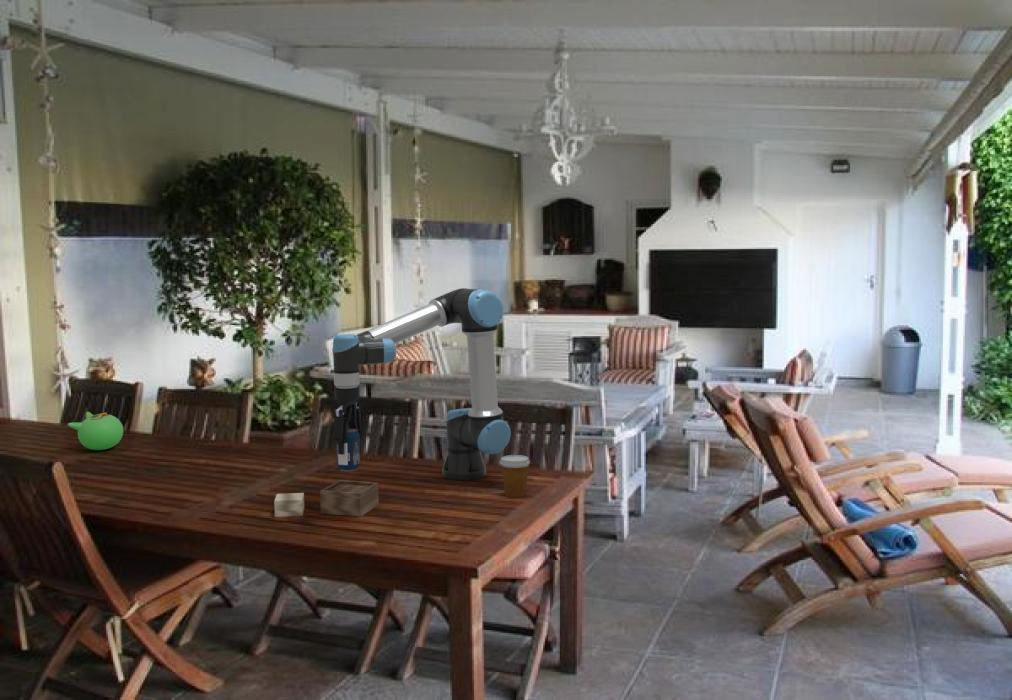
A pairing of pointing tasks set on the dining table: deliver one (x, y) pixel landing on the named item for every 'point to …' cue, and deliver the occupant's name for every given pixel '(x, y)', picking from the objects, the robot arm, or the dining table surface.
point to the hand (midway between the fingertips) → (348, 461)
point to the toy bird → (98, 431)
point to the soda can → (351, 450)
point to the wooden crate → (349, 498)
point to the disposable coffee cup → (514, 474)
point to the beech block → (289, 504)
